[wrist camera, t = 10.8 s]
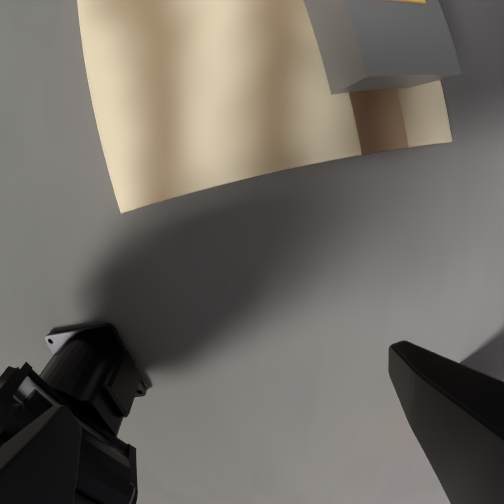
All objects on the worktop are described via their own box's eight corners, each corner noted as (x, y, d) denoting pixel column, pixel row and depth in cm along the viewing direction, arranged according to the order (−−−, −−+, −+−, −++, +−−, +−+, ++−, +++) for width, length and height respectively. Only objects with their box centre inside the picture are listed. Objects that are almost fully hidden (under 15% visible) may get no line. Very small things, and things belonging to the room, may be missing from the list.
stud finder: (331, 94, 15) (369, 75, 10) (288, -40, 12) (304, -90, 7) (410, 87, 15) (464, 74, 10) (366, -40, 12) (400, -79, 7)
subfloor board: (126, 209, 17) (120, 213, 16) (82, -15, 12) (75, -22, 11) (443, 141, 17) (452, 141, 16) (375, -64, 11) (381, -71, 10)
